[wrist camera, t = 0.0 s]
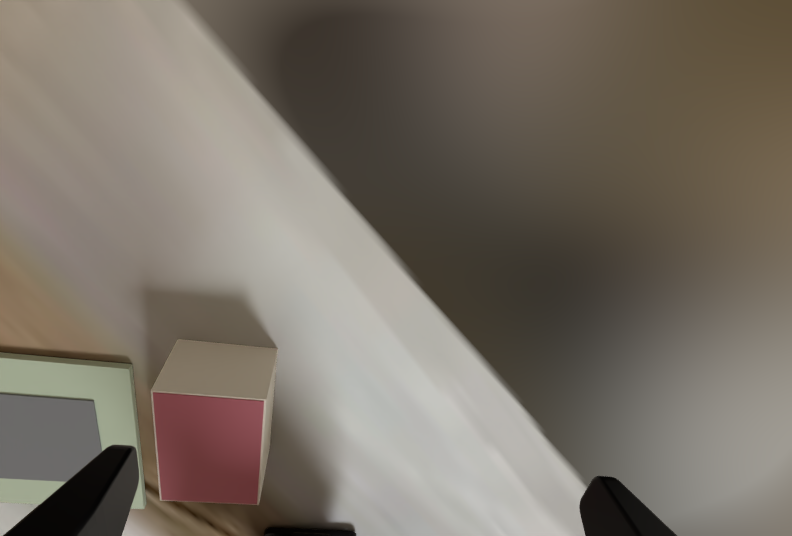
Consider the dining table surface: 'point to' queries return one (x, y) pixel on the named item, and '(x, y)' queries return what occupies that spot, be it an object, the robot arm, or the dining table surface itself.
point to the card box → (213, 421)
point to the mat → (61, 422)
